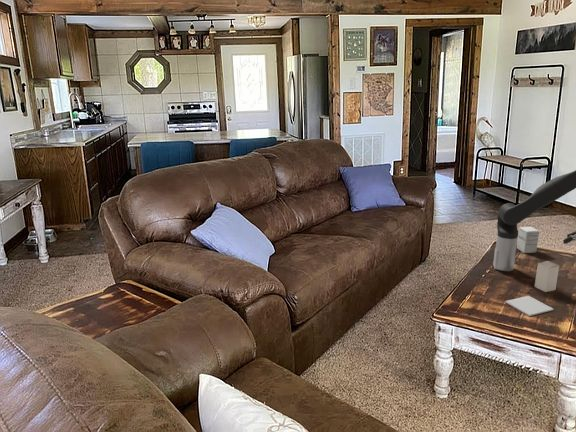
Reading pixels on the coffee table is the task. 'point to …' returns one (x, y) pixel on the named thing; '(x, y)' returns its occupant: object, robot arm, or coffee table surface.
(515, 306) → the grey mat
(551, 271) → the cream box
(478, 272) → the coffee table surface
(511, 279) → the coffee table surface
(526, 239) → the supplement box
